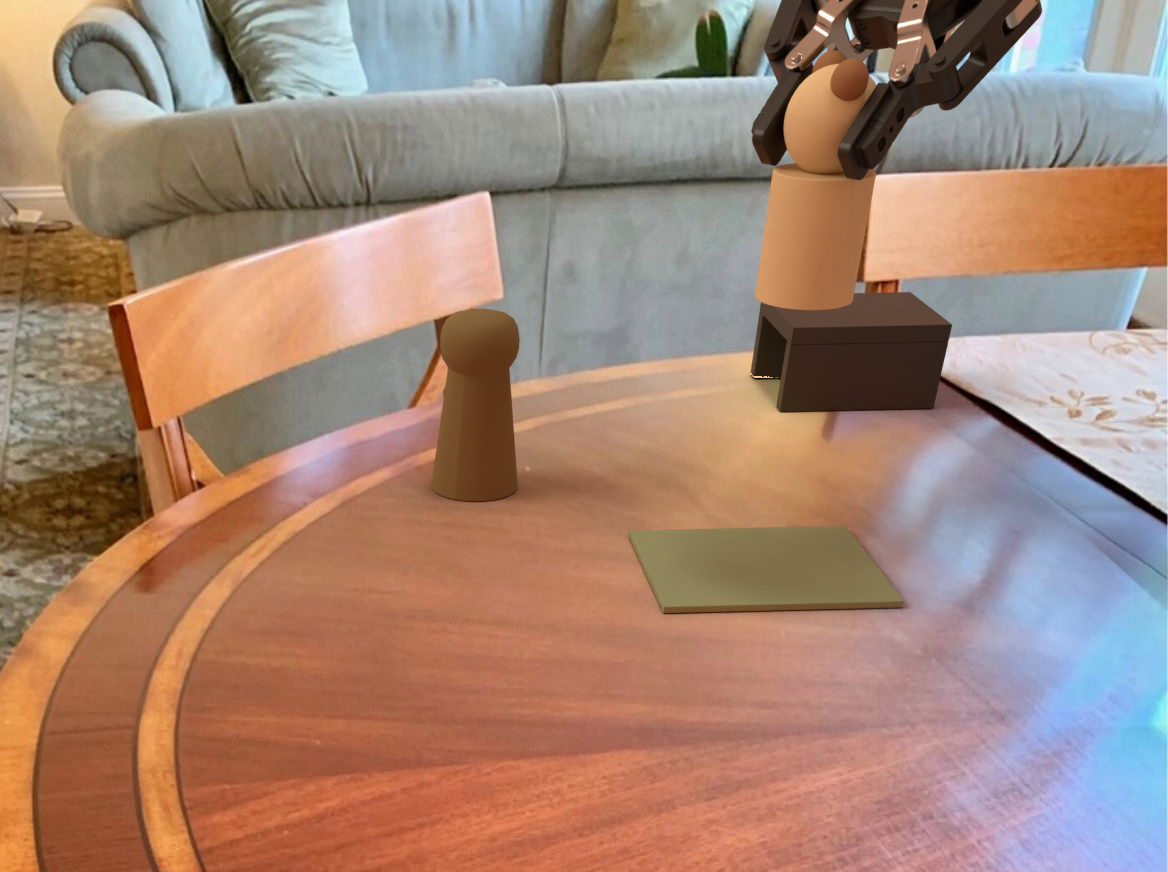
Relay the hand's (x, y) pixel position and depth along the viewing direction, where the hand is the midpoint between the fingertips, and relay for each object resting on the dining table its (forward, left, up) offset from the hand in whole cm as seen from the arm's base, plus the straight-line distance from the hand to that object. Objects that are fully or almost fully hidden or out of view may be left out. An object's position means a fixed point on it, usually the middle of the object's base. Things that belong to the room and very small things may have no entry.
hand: (805, 159), depth 75 cm
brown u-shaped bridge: (-16, -37, -22) cm, 46 cm away
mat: (-1, -1, -22) cm, 22 cm away
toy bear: (-1, -1, -7) cm, 7 cm away
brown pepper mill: (+15, -17, -22) cm, 32 cm away
